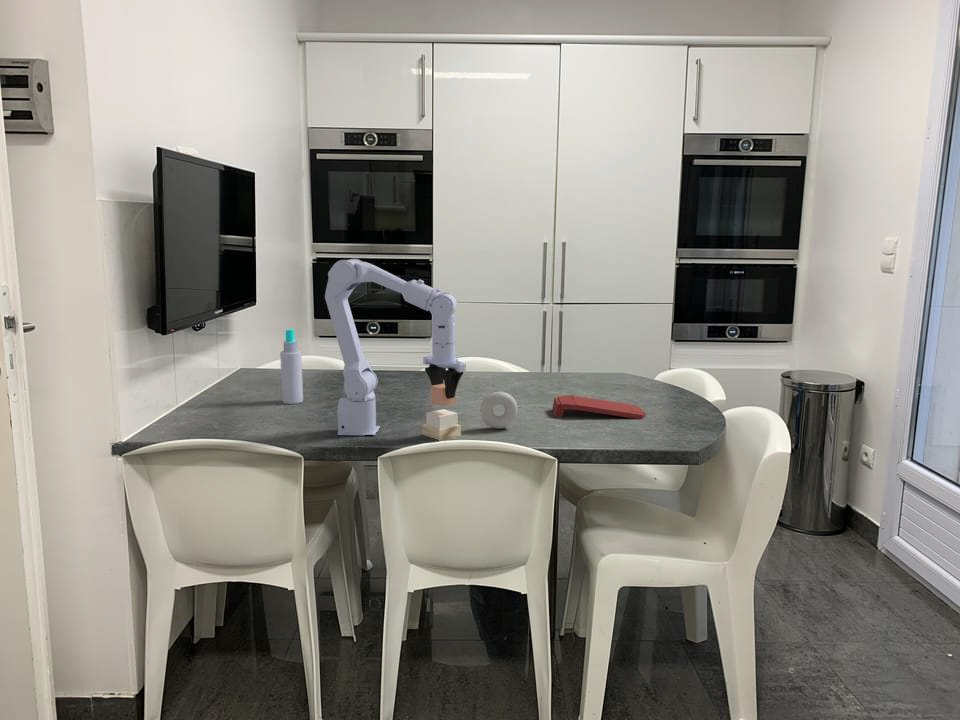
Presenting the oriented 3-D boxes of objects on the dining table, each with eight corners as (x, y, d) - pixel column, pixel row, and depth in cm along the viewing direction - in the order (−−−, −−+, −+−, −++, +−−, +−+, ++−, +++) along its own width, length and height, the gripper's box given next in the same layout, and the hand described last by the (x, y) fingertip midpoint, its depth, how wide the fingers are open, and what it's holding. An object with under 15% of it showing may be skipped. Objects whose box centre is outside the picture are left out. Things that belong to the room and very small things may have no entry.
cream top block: (440, 429, 180) (440, 416, 180) (426, 424, 184) (426, 412, 184) (457, 425, 184) (457, 413, 183) (443, 421, 188) (443, 409, 188)
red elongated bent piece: (634, 421, 215) (551, 408, 215) (638, 405, 215) (554, 392, 214) (644, 432, 203) (555, 419, 203) (647, 415, 203) (559, 401, 202)
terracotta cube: (441, 406, 180) (441, 388, 179) (430, 402, 183) (430, 385, 183) (455, 403, 183) (455, 386, 182) (444, 400, 186) (444, 383, 185)
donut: (480, 430, 190) (480, 393, 188) (479, 427, 193) (479, 390, 191) (518, 429, 191) (519, 392, 189) (516, 426, 194) (516, 389, 192)
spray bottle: (297, 405, 217) (294, 331, 213) (278, 404, 218) (275, 330, 214) (306, 400, 222) (303, 328, 219) (288, 399, 224) (285, 328, 220)
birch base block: (439, 442, 180) (439, 430, 180) (422, 436, 185) (422, 424, 185) (461, 437, 185) (461, 425, 184) (443, 431, 190) (443, 420, 189)
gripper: (475, 344, 178) (475, 398, 180) (438, 337, 189) (438, 389, 191) (453, 347, 173) (453, 403, 176) (416, 340, 184) (417, 393, 186)
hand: (444, 396), depth 183 cm, fingers closed on terracotta cube, 4 cm apart
